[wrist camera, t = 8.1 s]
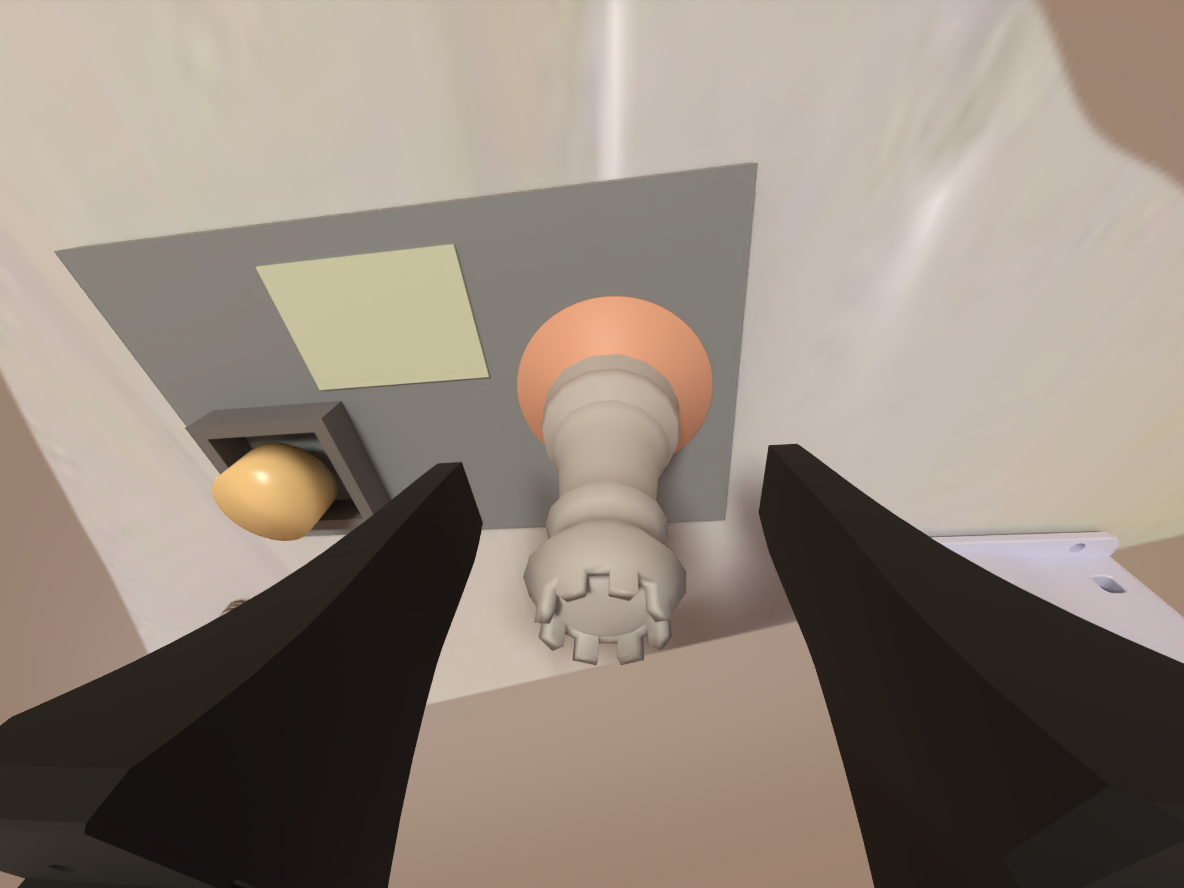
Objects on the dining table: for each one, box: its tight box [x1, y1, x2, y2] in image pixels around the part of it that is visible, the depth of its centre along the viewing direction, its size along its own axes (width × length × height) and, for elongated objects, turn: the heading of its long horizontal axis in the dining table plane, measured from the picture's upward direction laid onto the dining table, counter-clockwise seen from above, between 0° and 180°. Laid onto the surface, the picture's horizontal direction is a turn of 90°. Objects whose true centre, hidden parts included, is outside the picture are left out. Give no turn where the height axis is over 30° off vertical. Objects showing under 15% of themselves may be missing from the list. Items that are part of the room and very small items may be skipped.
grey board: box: [54, 163, 758, 536], centre depth 15 cm, size 20×12×2 cm, turn 96°
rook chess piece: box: [523, 354, 686, 665], centre depth 11 cm, size 4×4×8 cm
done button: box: [212, 442, 338, 541], centre depth 15 cm, size 3×3×2 cm
